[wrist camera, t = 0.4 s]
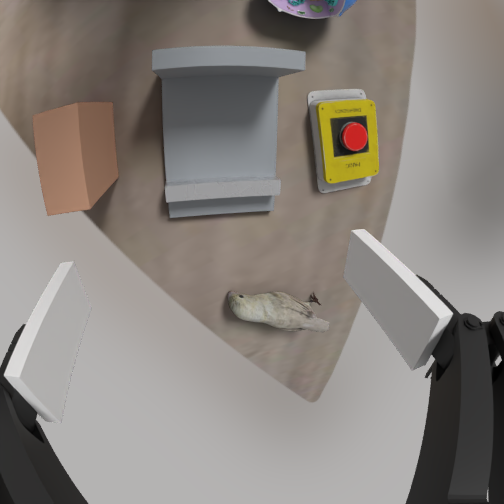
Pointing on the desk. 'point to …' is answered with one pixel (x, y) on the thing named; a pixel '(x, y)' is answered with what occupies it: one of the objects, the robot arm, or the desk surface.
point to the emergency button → (343, 138)
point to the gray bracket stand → (221, 117)
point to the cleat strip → (222, 187)
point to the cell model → (313, 7)
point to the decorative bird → (277, 311)
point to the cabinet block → (75, 155)
